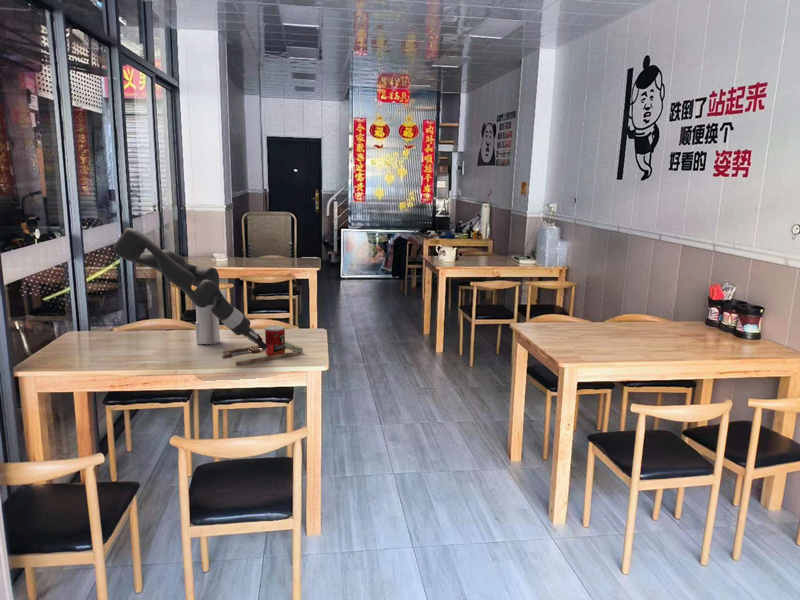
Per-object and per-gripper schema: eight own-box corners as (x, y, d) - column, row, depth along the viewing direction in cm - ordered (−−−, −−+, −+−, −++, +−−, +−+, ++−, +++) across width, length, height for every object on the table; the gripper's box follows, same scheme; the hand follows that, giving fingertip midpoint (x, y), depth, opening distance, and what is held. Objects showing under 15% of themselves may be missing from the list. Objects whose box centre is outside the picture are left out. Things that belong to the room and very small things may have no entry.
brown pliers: (237, 365, 228) (236, 359, 227) (217, 354, 243) (217, 348, 243) (303, 354, 245) (302, 348, 244) (281, 344, 260) (280, 338, 260)
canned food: (276, 357, 240) (275, 330, 238) (261, 354, 244) (260, 328, 242) (289, 353, 246) (288, 326, 244) (274, 350, 250) (274, 324, 248)
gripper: (222, 325, 236) (252, 351, 246) (235, 331, 226) (266, 358, 235) (235, 310, 239) (264, 337, 248) (248, 316, 228) (278, 343, 238)
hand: (265, 347), depth 242 cm, fingers closed
